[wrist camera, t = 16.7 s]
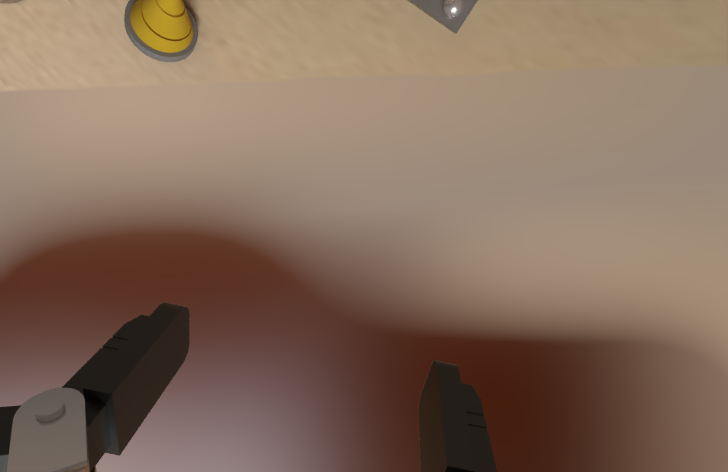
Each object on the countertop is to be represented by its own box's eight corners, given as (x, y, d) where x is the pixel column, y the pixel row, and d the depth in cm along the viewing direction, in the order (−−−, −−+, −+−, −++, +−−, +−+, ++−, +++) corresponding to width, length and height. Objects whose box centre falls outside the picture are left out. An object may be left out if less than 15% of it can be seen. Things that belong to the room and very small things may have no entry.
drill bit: (133, 4, 35) (139, -80, 27) (196, 34, 38) (220, -34, 29) (116, 59, 34) (116, -11, 26) (182, 85, 37) (203, 31, 28)
